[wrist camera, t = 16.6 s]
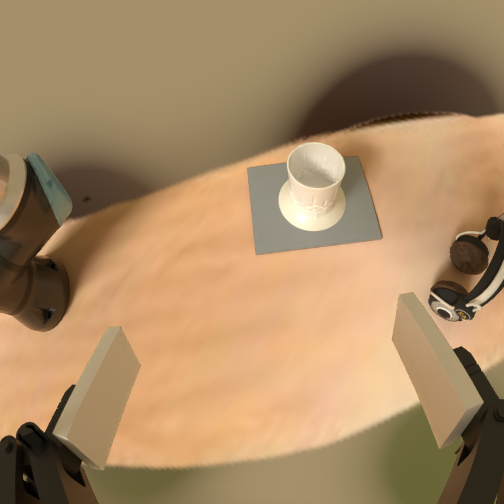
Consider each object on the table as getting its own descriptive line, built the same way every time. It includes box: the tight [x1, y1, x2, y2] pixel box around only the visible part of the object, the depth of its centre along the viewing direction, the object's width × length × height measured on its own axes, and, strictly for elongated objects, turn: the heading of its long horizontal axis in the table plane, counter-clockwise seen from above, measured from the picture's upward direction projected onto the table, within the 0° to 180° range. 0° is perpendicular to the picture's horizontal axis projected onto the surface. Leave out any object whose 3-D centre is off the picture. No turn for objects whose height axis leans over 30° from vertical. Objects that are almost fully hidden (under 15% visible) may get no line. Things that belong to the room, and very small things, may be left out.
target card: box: [247, 156, 382, 255], centre depth 47 cm, size 20×16×1 cm
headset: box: [429, 213, 504, 322], centre depth 31 cm, size 17×8×20 cm, turn 141°
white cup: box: [287, 142, 345, 218], centre depth 42 cm, size 8×8×10 cm
